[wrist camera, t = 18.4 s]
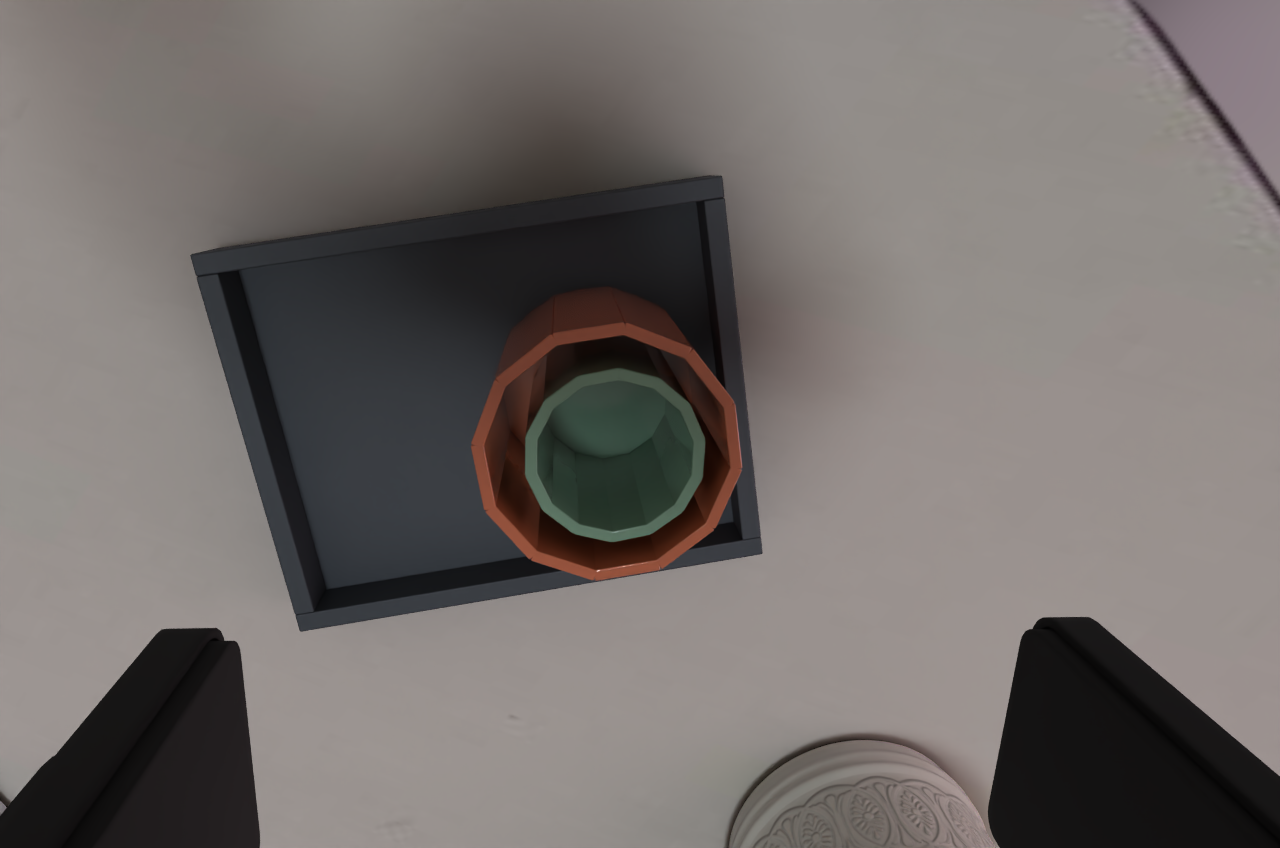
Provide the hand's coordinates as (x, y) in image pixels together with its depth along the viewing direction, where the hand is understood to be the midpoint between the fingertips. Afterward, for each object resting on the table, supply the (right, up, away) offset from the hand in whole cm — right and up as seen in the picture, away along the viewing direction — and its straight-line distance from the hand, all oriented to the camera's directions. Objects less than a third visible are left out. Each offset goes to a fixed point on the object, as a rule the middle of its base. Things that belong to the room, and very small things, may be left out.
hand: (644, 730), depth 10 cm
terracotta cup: (-2, +5, +25) cm, 26 cm away
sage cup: (-2, +5, +25) cm, 25 cm away
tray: (-6, +5, +26) cm, 27 cm away
